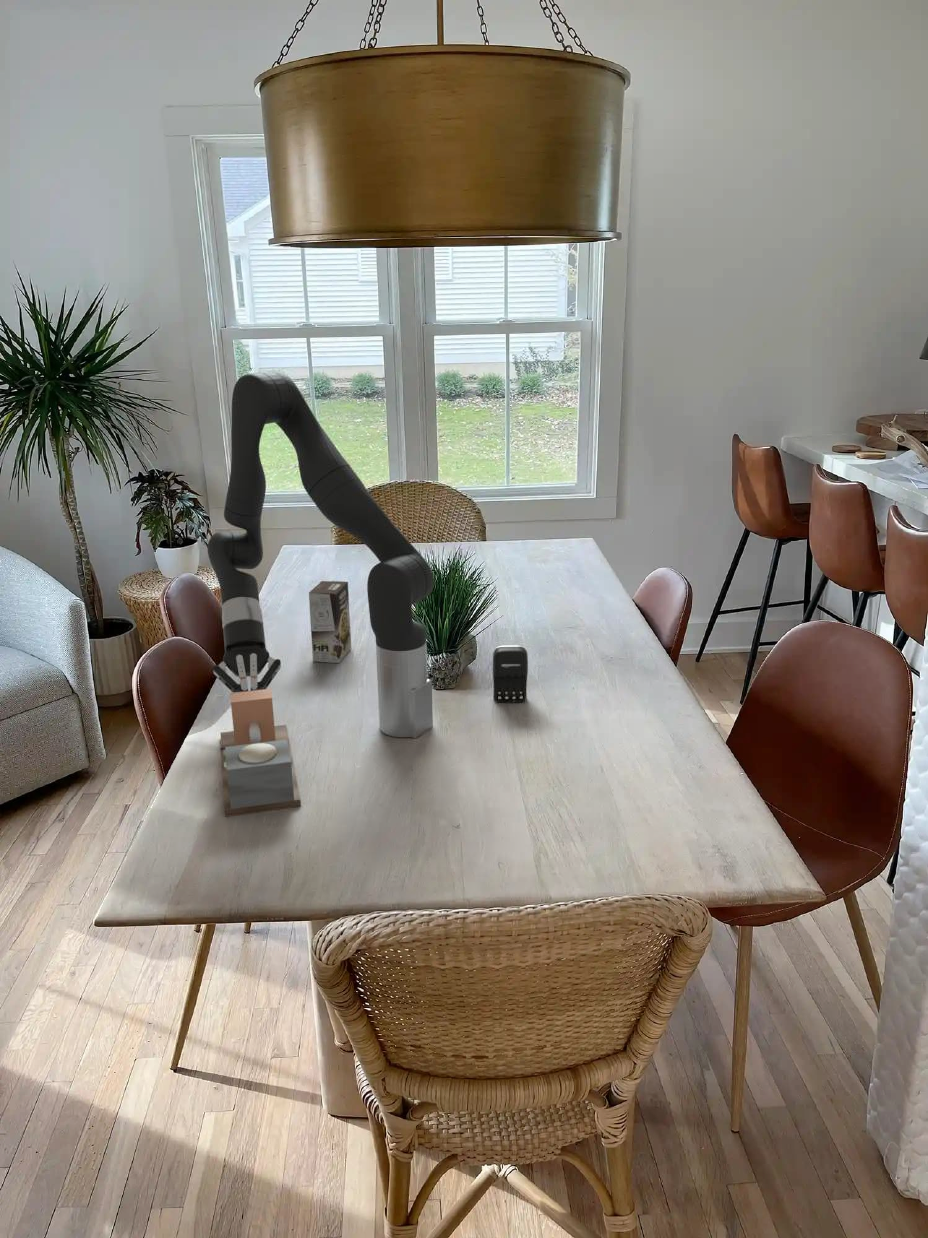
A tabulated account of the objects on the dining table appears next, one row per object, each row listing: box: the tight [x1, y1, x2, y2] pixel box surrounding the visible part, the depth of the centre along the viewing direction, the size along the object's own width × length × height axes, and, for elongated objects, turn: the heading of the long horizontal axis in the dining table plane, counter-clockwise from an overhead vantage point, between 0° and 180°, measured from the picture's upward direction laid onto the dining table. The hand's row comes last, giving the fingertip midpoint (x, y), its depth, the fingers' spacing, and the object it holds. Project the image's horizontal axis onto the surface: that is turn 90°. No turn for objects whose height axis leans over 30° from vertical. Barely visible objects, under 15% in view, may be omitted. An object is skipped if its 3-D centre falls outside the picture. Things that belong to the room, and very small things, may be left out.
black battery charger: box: [492, 644, 529, 704], centre depth 192 cm, size 7×4×11 cm, turn 90°
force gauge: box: [220, 724, 302, 817], centre depth 168 cm, size 28×12×9 cm, turn 14°
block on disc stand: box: [219, 688, 276, 751], centre depth 170 cm, size 9×10×10 cm
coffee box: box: [308, 580, 352, 664], centre depth 215 cm, size 9×6×16 cm
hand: (251, 711), depth 178 cm, fingers closed
